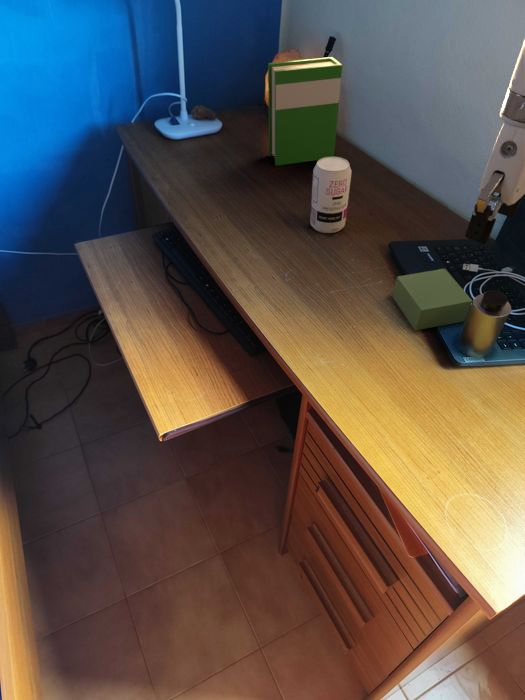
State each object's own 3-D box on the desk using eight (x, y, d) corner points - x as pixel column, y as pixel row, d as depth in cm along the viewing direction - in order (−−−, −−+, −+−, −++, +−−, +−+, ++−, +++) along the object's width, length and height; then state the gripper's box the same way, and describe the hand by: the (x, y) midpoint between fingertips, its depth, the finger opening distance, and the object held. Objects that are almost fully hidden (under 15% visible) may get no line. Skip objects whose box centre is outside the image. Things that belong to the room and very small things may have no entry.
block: (438, 288, 93) (444, 268, 90) (464, 321, 87) (472, 300, 83) (392, 296, 92) (396, 276, 88) (415, 330, 85) (421, 310, 82)
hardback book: (275, 165, 133) (275, 71, 116) (269, 155, 138) (268, 63, 121) (333, 157, 136) (342, 64, 119) (325, 147, 141) (332, 56, 124)
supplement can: (325, 212, 115) (330, 152, 104) (351, 225, 110) (360, 163, 100) (303, 225, 111) (306, 163, 100) (329, 238, 107) (335, 176, 96)
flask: (485, 334, 84) (507, 285, 76) (495, 358, 80) (520, 309, 72) (453, 334, 84) (472, 285, 76) (461, 358, 80) (482, 309, 72)
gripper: (540, 135, 52) (489, 261, 64) (589, 94, 61) (536, 212, 73) (476, 119, 56) (439, 242, 68) (531, 82, 64) (490, 197, 77)
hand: (489, 226), depth 71 cm, fingers open, 9 cm apart
